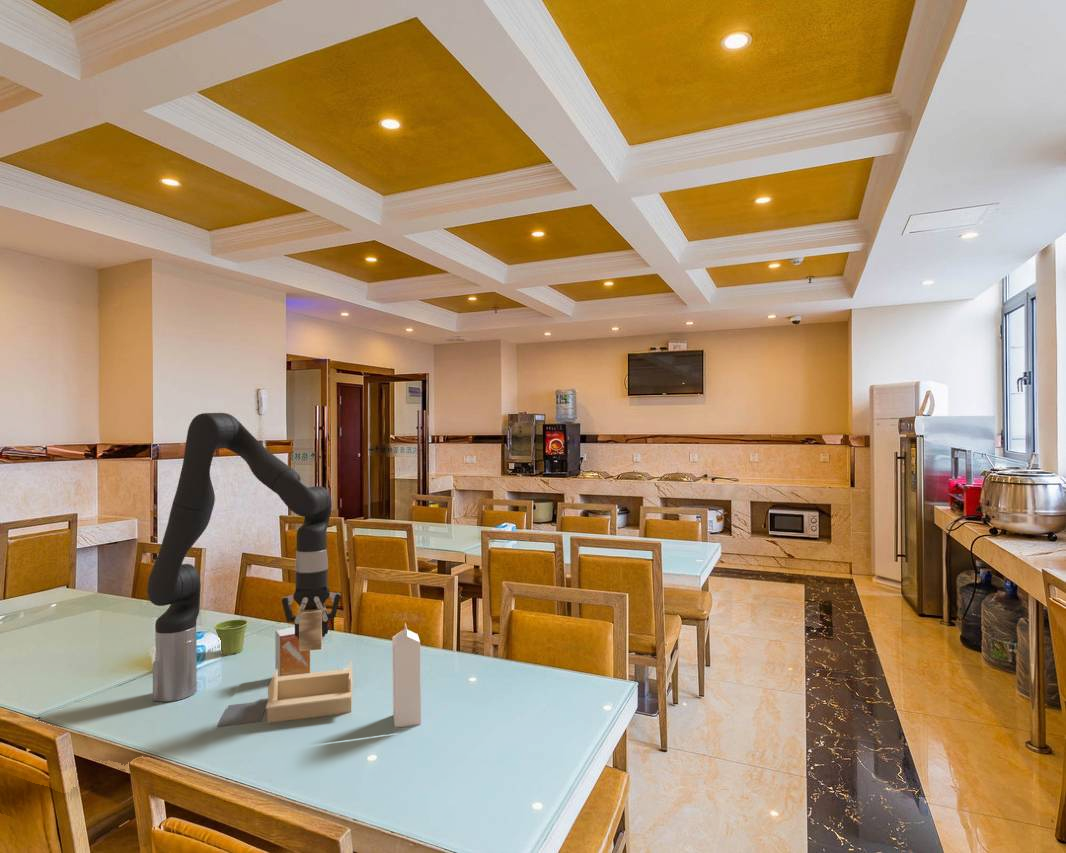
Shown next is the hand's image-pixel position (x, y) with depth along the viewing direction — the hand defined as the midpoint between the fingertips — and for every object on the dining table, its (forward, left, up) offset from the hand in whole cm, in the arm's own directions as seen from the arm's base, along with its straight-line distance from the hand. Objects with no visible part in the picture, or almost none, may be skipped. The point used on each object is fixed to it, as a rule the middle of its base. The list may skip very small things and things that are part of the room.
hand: (311, 636), depth 149 cm
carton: (0, 0, -17) cm, 17 cm away
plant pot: (-28, +48, -17) cm, 58 cm away
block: (0, 0, -2) cm, 2 cm away
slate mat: (-15, 0, -17) cm, 23 cm away
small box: (-7, +21, -17) cm, 28 cm away
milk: (+22, -14, -17) cm, 31 cm away
